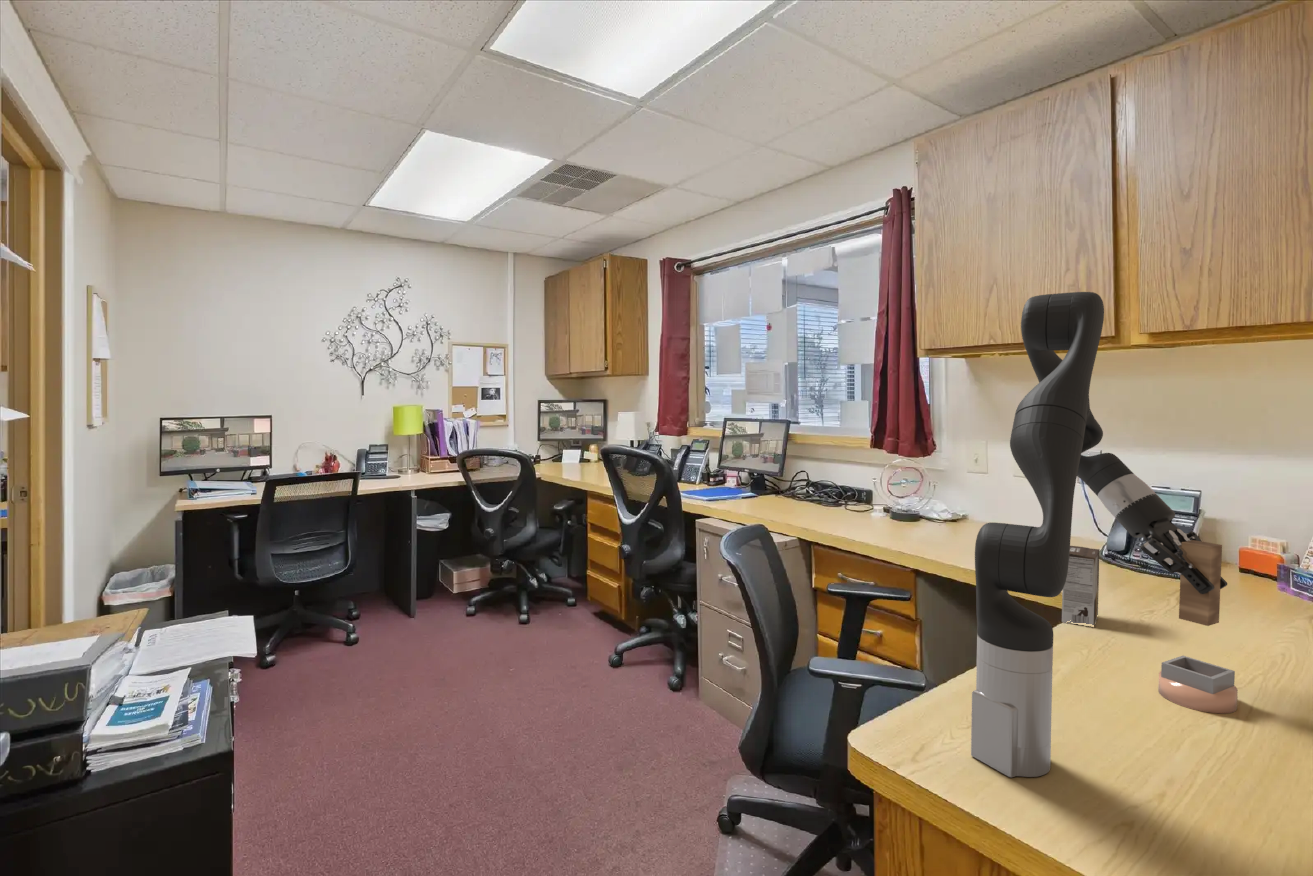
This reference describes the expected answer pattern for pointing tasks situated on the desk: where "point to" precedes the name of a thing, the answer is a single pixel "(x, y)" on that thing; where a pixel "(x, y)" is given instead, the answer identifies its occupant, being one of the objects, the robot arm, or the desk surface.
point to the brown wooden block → (1209, 564)
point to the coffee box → (1081, 586)
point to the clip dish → (1198, 685)
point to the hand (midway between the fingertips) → (1215, 589)
